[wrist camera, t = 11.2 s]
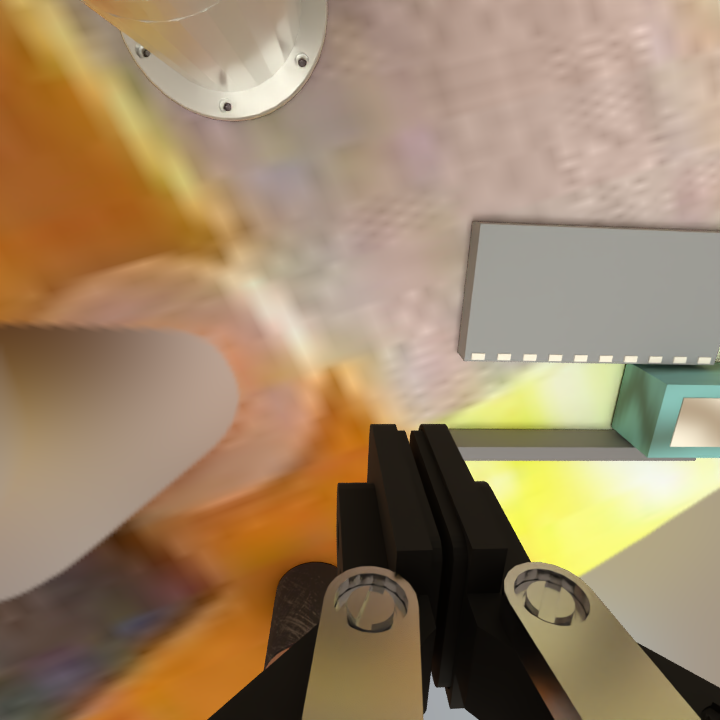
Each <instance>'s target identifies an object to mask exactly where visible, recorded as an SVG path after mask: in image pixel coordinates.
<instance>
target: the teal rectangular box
mask: <svg viewBox="0 0 720 720" xmlns="http://www.w3.org/2000/svg"><path fill="white" fill-rule="evenodd" d="M611 427H612V428H613V429H614V430H616V431H617V432H618V433H619V434H620V435H621V436H623V437H624V438H625V439H626V440H627V441H628V442H630V443H631V444H632V445H633V446H634V447H635V448H637V449H638V450H639V451H640V452H641V453H642V454H644V455H645V456H646V457H647V458H720V362H715V363H714V365H678V364H626V368H625V372H624V376H623V380H622V385H621V389H620V393H619V397H618V401H617V406H616V410H615V414H614V418H613V422H612V426H611Z"/></svg>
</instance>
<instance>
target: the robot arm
mask: <svg viewBox="0 0 720 720" xmlns="http://www.w3.org/2000/svg"><path fill="white" fill-rule="evenodd" d="M80 1H81V2H83V3H84V4H85V5H87V6H88V7H90V8H91V9H92V10H94V11H95V12H96V13H98V14H99V15H100V16H102V17H103V18H104V19H106V20H107V21H109V22H110V23H111V24H113V25H114V26H115V27H117V28H118V29H119V30H120V32H121V35H122V38H123V41H124V43H125V45H126V46H127V48H128V50H129V52H130V54H131V56H132V57H133V59H134V61H135V63H136V64H137V65H138V67H139V68H140V69H141V71H142V72H143V73H144V74H145V76H146V77H147V78H148V80H149V81H150V82H151V83H152V84H153V85H154V86H156V87H157V88H158V89H159V90H160V91H161V92H162V93H163V94H164V95H165V96H167V97H168V98H170V99H171V100H173V101H174V102H176V103H177V104H179V105H180V106H182V107H183V108H185V109H187V110H189V111H192V112H194V113H196V114H199V115H202V116H205V117H208V118H211V119H215V120H224V121H243V120H252V119H255V118H258V117H261V116H264V115H267V114H270V113H272V112H273V111H275V110H277V109H278V108H280V107H282V106H283V105H285V104H286V103H287V102H288V101H290V100H291V99H292V98H293V97H294V96H295V95H296V94H297V93H298V92H299V91H300V90H301V89H302V87H303V86H304V85H305V83H306V82H307V80H308V79H309V78H310V76H311V75H312V72H313V70H314V68H315V66H316V64H317V62H318V60H319V58H320V54H321V51H322V47H323V43H324V40H325V35H326V26H327V15H328V12H327V0H80ZM145 50H148V51H149V52H150V55H149V57H147V58H146V57H145V56H144V51H145ZM301 59H304V60H305V61H306V66H305V67H300V66H299V65H298V62H299V60H301ZM227 103H229V104H231V110H230V111H228V112H227V111H225V109H224V106H225V104H227ZM337 569H338V576H337V577H336V578H335V579H334V580H333V581H332V582H331V583H330V585H329V586H328V588H327V591H326V593H325V596H324V601H323V606H322V611H321V617H320V622H319V623H318V624H317V625H316V626H314V627H313V628H312V629H311V630H310V631H309V632H308V633H306V634H305V635H304V636H303V637H302V638H301V639H299V640H298V641H297V642H296V643H295V644H294V645H293V646H291V647H290V648H289V649H288V650H287V651H286V652H285V653H283V654H282V655H281V656H280V657H279V658H278V659H277V660H275V661H274V662H273V663H272V664H271V665H270V666H268V667H267V668H266V669H265V670H264V671H263V672H262V673H260V674H259V675H258V676H257V677H256V678H255V679H254V680H252V681H251V682H250V683H249V684H248V685H247V686H246V687H244V688H243V689H242V690H241V691H240V692H239V693H237V694H236V695H235V696H234V697H233V698H232V699H231V700H229V701H228V702H227V703H226V704H225V705H224V706H223V707H221V708H220V709H219V710H218V711H217V712H216V713H215V714H213V715H212V716H211V717H210V718H209V719H208V720H423V714H424V713H425V711H426V709H427V700H428V692H429V684H430V676H431V672H432V677H433V681H434V684H435V686H436V687H445V690H446V694H447V698H448V702H449V707H450V709H455V708H465V709H466V710H467V711H468V712H470V713H471V714H472V715H474V716H475V717H476V718H477V719H479V720H720V688H719V687H717V686H716V685H714V684H712V683H710V682H708V681H706V680H705V679H703V678H701V677H699V676H697V675H695V674H693V673H692V672H690V671H688V670H686V669H684V668H682V667H681V666H679V665H677V664H675V663H673V662H671V661H670V660H668V659H666V658H664V657H662V656H661V655H659V654H657V653H655V652H653V651H652V650H649V649H648V648H646V647H644V646H642V645H641V644H639V643H637V642H636V641H635V640H634V639H633V638H632V637H631V635H630V634H629V633H628V632H627V631H626V629H625V628H624V627H623V626H622V625H621V624H620V622H619V621H618V620H617V619H616V618H615V616H614V615H613V614H612V613H611V612H610V610H609V609H608V608H607V607H606V606H605V605H604V603H603V602H602V601H601V600H600V599H599V597H598V596H597V595H596V594H595V593H594V591H593V590H592V589H591V588H590V587H589V586H588V585H586V583H585V582H584V581H583V580H581V579H580V578H579V577H577V576H576V575H574V574H572V573H571V572H569V571H568V570H565V569H563V568H560V567H558V566H555V565H552V564H547V563H542V562H531V561H530V559H529V557H528V556H527V554H526V552H525V550H524V548H523V546H522V545H521V543H520V541H519V539H518V537H517V535H516V533H515V532H514V530H513V528H512V526H511V524H510V522H509V521H508V519H507V517H506V515H505V513H504V511H503V509H502V508H501V506H500V504H499V502H498V500H497V498H496V496H495V495H494V493H493V491H492V489H491V487H490V486H489V484H488V483H487V482H484V481H474V479H473V477H472V475H471V473H470V471H469V469H468V467H467V465H466V463H465V461H464V459H463V457H462V455H461V453H460V451H459V449H458V447H457V445H456V443H455V441H454V439H453V437H452V435H451V433H450V431H449V429H448V427H447V426H446V424H421V425H420V427H419V431H411V434H410V444H409V441H408V438H407V435H406V432H405V431H397V427H396V425H395V424H371V425H370V434H369V454H368V475H367V483H338V487H337Z"/></svg>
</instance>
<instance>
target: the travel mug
mask: <svg viewBox="0 0 720 720" xmlns="http://www.w3.org/2000/svg"><path fill="white" fill-rule="evenodd" d="M337 576H338V569H337V567H335V566H332V565H330V564H326V563H319V562H313V563H305V564H302V565H299V566H296V567H295V568H293V569H291V570H290V571H288V572H287V573H286V574H285V575H284V576H283V577H282V579H281V580H280V582H279V585H278V587H277V592H276V597H275V602H274V609H273V615H272V621H271V628H270V634H269V640H268V647H267V653H266V659H265V666H264V670H265V669H266V668H267V667H268V666H270V665H271V664H272V663H273V662H274V661H275V660H277V659H278V658H279V657H280V656H281V655H282V654H283V653H285V652H286V651H287V650H288V649H289V648H290V647H291V646H293V645H294V644H295V643H296V642H297V641H298V640H299V639H301V638H302V637H303V636H304V635H305V634H306V633H308V632H309V631H310V630H311V629H312V628H313V627H314V626H316V625H317V624H318V623H319V622H320V617H321V611H322V606H323V601H324V596H325V593H326V591H327V588H328V586H329V585H330V583H331V582H332V581H333V580H334V579H335V578H336V577H337Z"/></svg>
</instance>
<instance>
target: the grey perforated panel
mask: <svg viewBox="0 0 720 720" xmlns="http://www.w3.org/2000/svg"><path fill="white" fill-rule="evenodd" d="M719 347H720V231H702V230H676V229H651V228H625V227H600V226H574V225H548V224H523V223H497V222H472V231H471V240H470V248H469V257H468V266H467V274H466V283H465V292H464V300H463V309H462V318H461V326H460V335H459V344H458V354H459V355H460V356H461V357H462V359H463V360H464V361H497V362H557V363H618V364H678V365H714V363H715V360H716V357H717V354H718V350H719ZM449 431H450V433H451V435H452V437H453V439H454V441H455V443H456V445H457V447H458V449H459V451H460V453H461V455H462V457H463V459H464V461H695V460H696V458H647V457H646V456H645V455H644V454H642V453H641V452H640V451H639V450H638V449H637V448H635V447H634V446H633V445H632V444H631V443H630V442H628V441H627V440H626V439H625V438H624V437H623V436H621V435H620V434H619V433H618V432H617V431H616V430H534V429H449Z"/></svg>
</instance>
